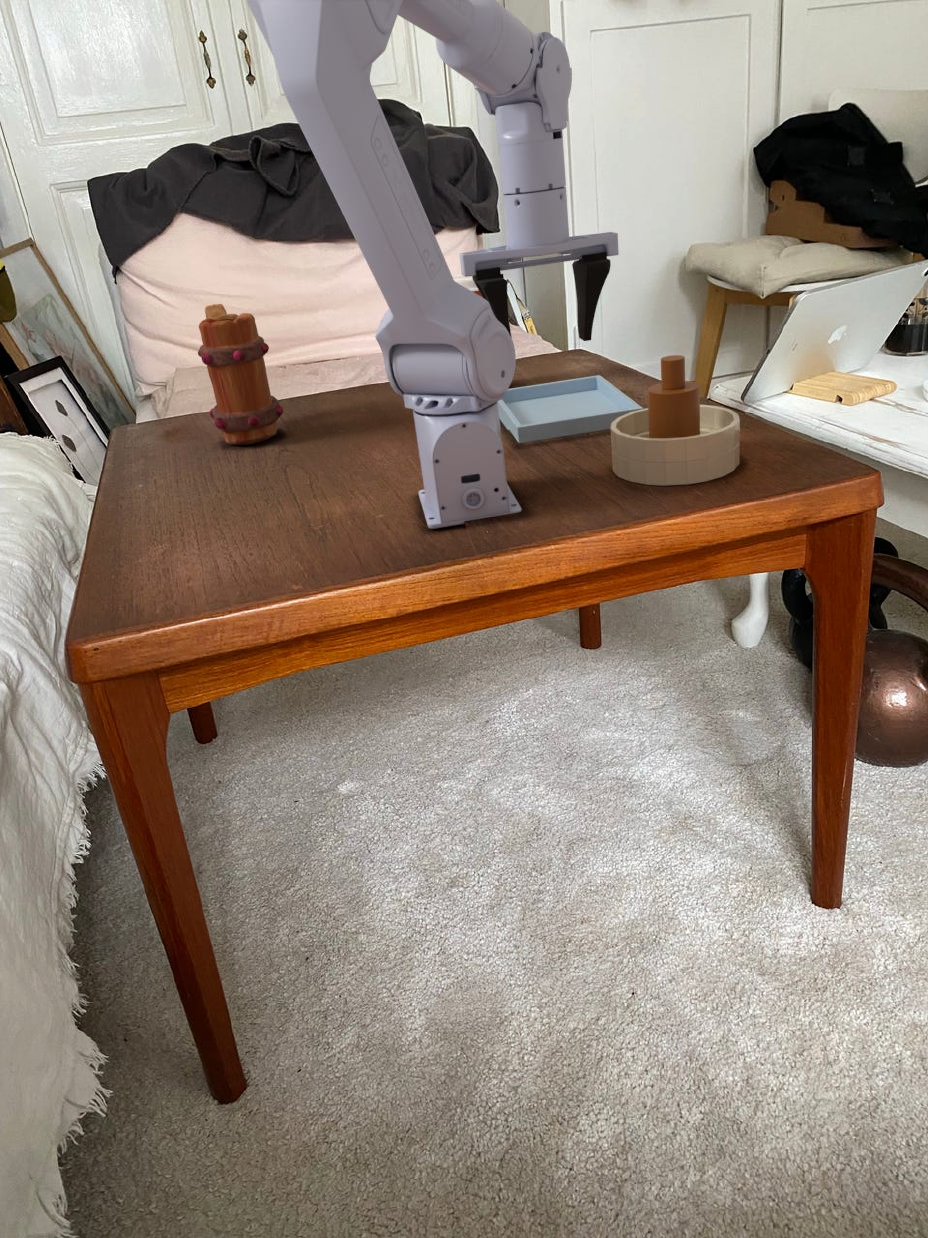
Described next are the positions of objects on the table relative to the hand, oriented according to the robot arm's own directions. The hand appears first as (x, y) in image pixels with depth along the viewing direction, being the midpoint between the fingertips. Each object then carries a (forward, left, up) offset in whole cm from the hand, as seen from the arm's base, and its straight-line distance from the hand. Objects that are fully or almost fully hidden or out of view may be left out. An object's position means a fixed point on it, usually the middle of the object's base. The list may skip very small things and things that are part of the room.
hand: (546, 344), depth 91 cm
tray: (+11, -3, -10) cm, 15 cm away
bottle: (-12, -8, -10) cm, 18 cm away
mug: (+25, +33, -10) cm, 42 cm away
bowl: (-12, -8, -10) cm, 18 cm away
